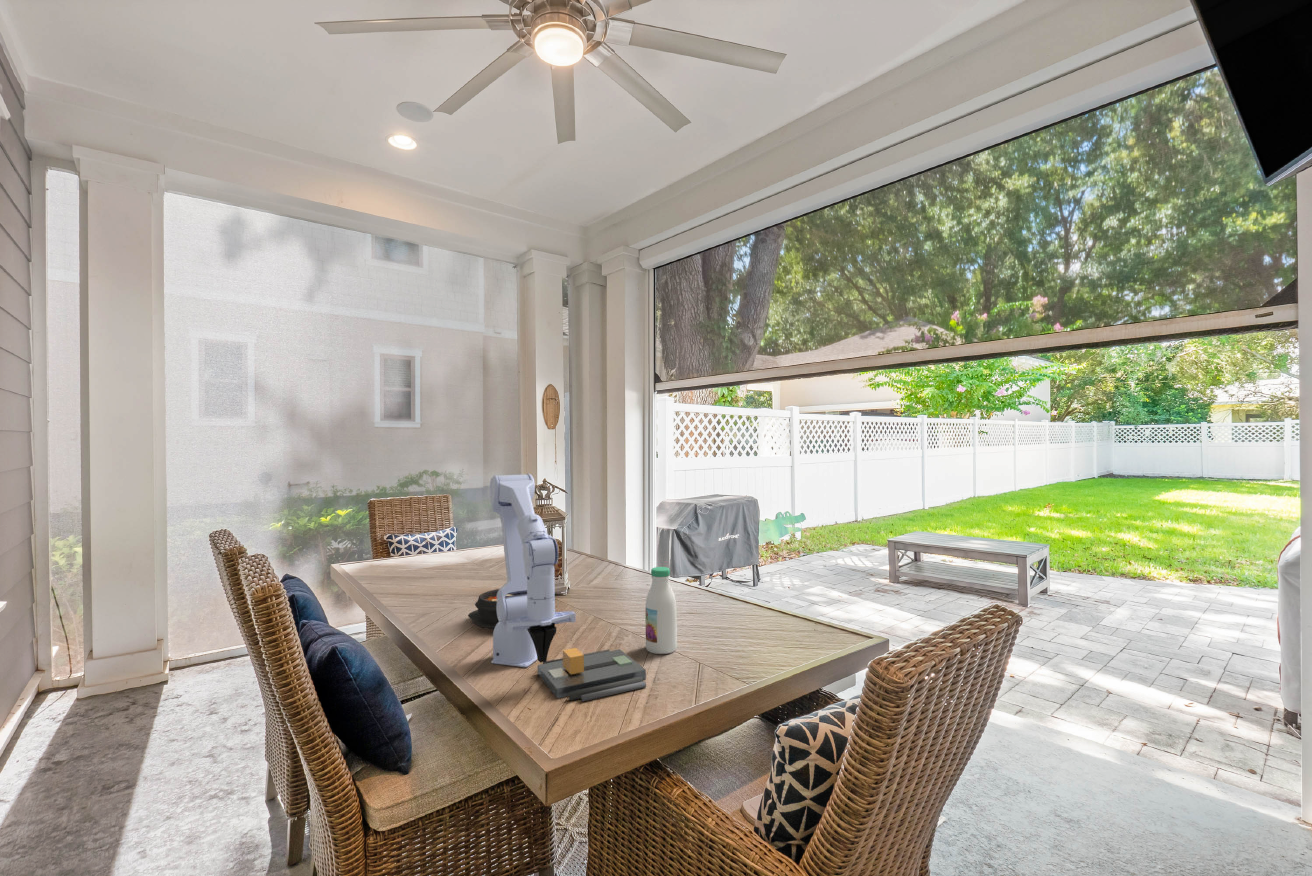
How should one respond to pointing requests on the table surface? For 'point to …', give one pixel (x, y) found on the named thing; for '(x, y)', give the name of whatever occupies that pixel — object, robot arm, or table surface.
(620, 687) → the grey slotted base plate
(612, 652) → the grey flat slab
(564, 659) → the lever
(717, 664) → the table surface
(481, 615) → the casserole
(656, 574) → the milk bottle
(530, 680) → the table surface
